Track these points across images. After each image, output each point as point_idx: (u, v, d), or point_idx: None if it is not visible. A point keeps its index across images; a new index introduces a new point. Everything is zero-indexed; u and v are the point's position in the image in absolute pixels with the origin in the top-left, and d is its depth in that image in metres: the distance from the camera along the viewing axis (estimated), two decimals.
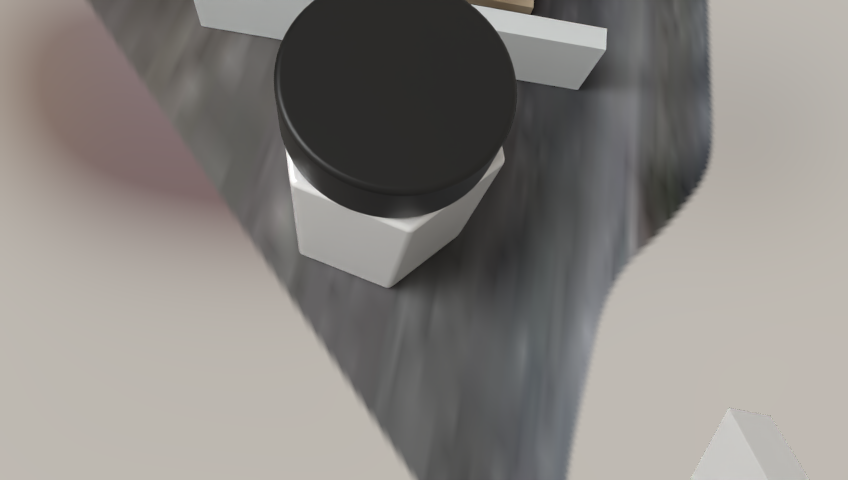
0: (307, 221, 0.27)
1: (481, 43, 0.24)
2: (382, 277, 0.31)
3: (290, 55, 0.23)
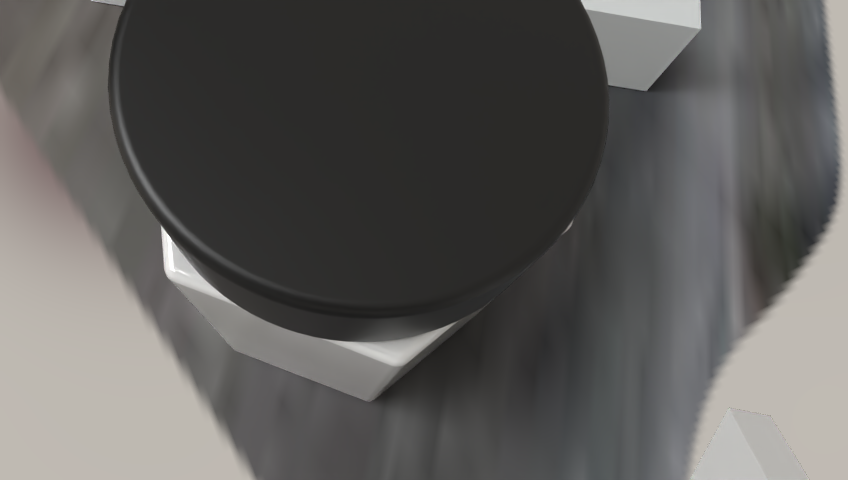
0: (220, 323, 0.16)
1: None
2: (358, 393, 0.20)
3: (144, 20, 0.11)
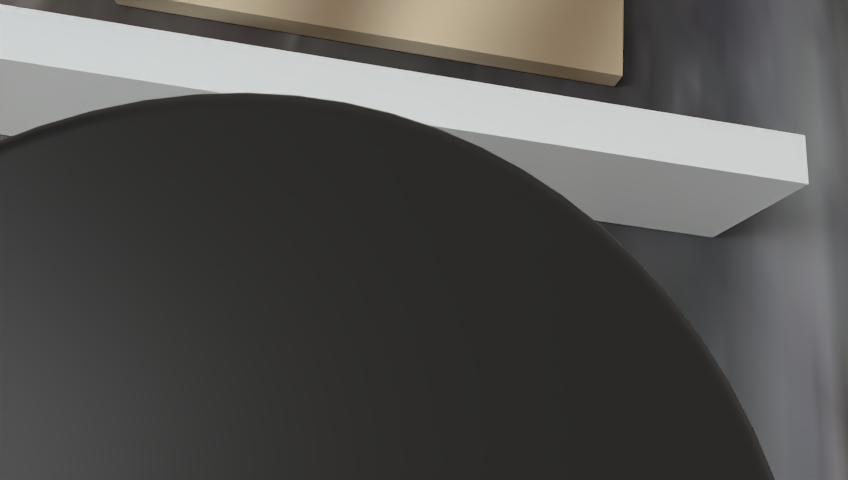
0: None
1: (635, 398, 0.05)
2: None
3: None
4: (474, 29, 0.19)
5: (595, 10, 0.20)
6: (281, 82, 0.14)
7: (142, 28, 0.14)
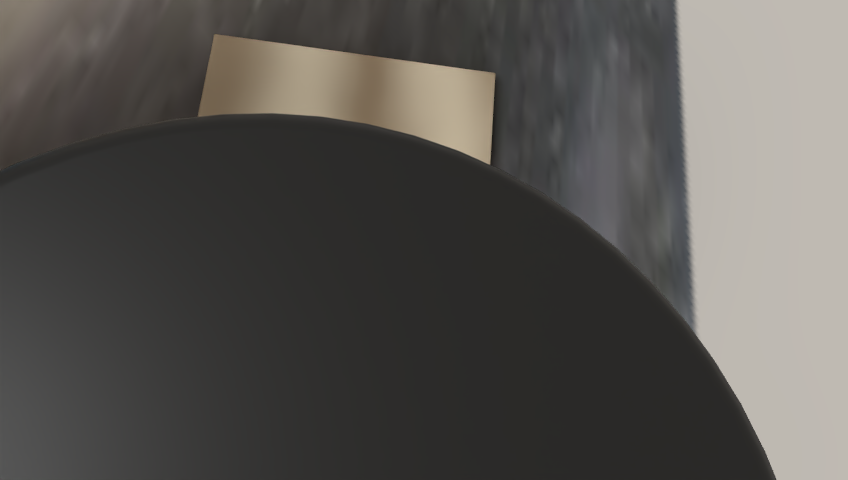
0: None
1: (626, 383, 0.05)
2: None
3: None
4: None
5: None
6: None
7: None
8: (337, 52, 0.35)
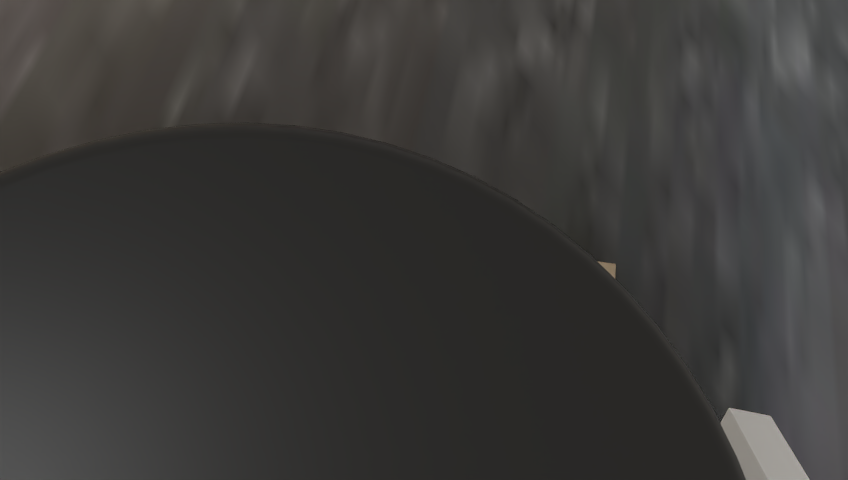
0: None
1: (597, 390, 0.05)
2: None
3: None
4: None
5: None
6: None
7: None
8: None
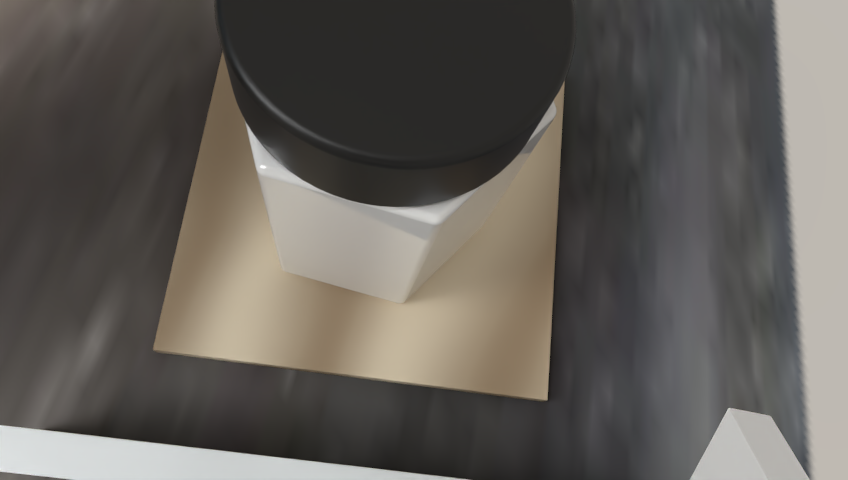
0: (286, 225, 0.20)
1: None
2: (394, 291, 0.24)
3: None
4: (431, 365, 0.25)
5: (528, 342, 0.26)
6: None
7: (181, 446, 0.20)
8: None
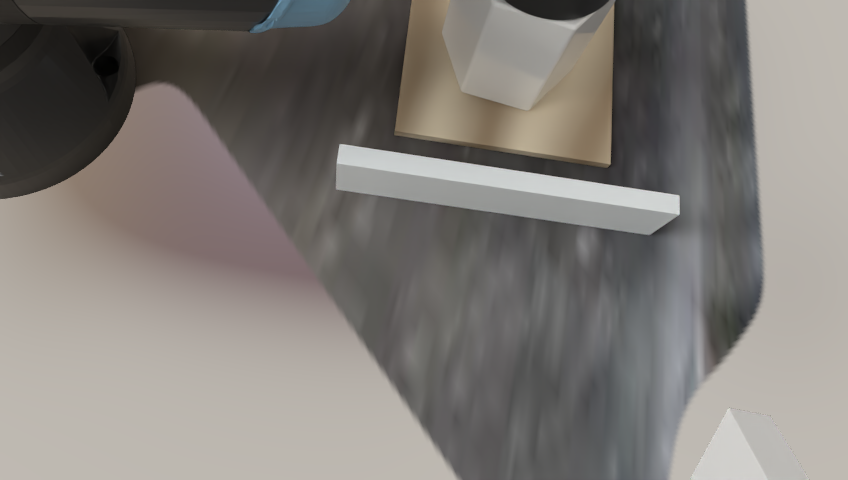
0: (487, 45, 0.39)
1: None
2: (528, 96, 0.43)
3: None
4: (545, 144, 0.45)
5: (598, 134, 0.45)
6: (484, 178, 0.40)
7: (434, 158, 0.40)
8: None
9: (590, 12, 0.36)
